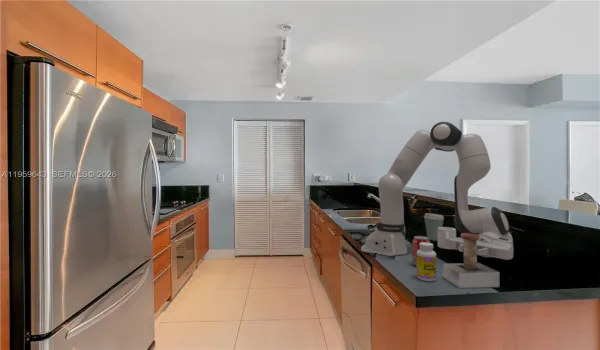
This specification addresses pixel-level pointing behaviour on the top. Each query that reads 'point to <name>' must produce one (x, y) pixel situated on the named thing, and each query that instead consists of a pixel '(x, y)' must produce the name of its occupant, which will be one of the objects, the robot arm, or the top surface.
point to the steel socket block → (471, 276)
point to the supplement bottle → (426, 262)
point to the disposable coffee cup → (433, 225)
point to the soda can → (416, 246)
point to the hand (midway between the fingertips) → (468, 250)
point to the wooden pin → (470, 251)
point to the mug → (445, 236)
